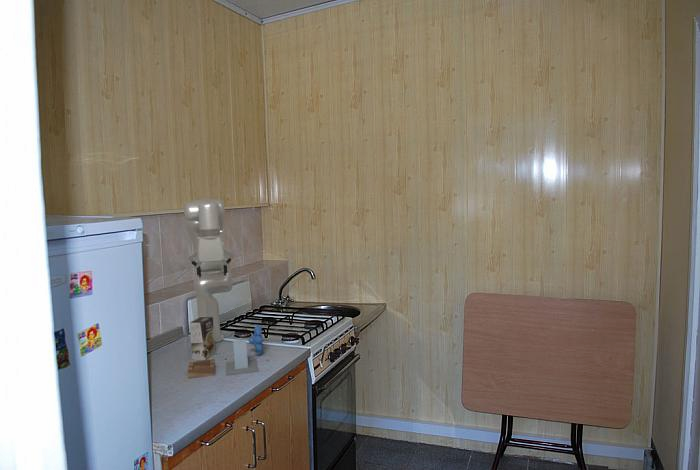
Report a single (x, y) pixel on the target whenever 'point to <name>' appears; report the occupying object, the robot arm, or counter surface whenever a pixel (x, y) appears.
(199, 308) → the robot arm
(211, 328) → the coffee box
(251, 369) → the mat
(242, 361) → the block
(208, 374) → the pocket holder
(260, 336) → the grapes
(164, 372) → the counter surface
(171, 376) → the counter surface
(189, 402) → the counter surface
